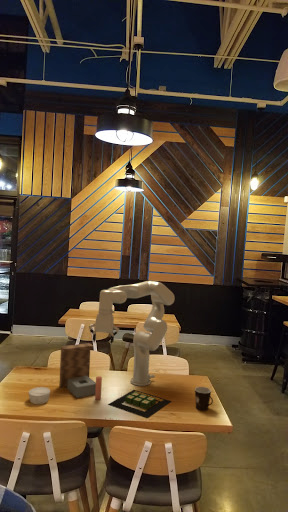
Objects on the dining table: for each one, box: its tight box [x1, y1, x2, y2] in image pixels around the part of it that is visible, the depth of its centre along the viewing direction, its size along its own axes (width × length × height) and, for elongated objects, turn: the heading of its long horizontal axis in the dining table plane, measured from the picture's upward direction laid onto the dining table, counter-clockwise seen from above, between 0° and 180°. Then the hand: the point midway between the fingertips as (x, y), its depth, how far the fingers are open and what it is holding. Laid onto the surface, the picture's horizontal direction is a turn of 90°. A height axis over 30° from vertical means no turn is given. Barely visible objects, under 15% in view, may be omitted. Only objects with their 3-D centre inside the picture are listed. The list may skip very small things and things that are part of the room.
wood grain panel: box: [58, 342, 94, 389], centre depth 223 cm, size 18×6×24 cm, turn 123°
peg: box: [94, 375, 103, 401], centre depth 207 cm, size 3×3×12 cm
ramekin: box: [28, 386, 51, 405], centre depth 201 cm, size 11×11×5 cm
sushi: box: [107, 389, 172, 419], centre depth 204 cm, size 25×25×4 cm
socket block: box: [66, 376, 96, 399], centre depth 216 cm, size 12×14×6 cm
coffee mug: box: [194, 386, 214, 412], centre depth 200 cm, size 12×9×10 cm
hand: (102, 342), depth 212 cm, fingers open, 9 cm apart
